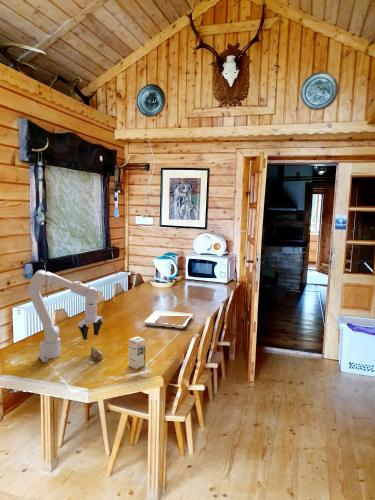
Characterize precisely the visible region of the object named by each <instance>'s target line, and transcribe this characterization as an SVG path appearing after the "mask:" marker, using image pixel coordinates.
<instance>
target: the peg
mask: <svg viewBox="0 0 375 500" xmlns="http://www.w3.org/2000/svg"><path fill="white" fill-rule="evenodd" d="M90 355H91V356H92V361H93V362H101V361H102V360H103V350H102V349H96V348H95V347H94V346H93V347H91V348H90Z"/></svg>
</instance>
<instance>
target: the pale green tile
mask: <svg viewBox="0 0 375 500" xmlns="http://www.w3.org/2000/svg"><path fill="white" fill-rule="evenodd" d="M87 363H88V364H92V365H94V364H96V361H93V360H90V361H88V362H87Z"/></svg>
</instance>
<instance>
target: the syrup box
mask: <svg viewBox="0 0 375 500" xmlns="http://www.w3.org/2000/svg"><path fill="white" fill-rule="evenodd" d="M146 340H147V339H145V338H144V337H141V336H135V337H133V338H129V339H128V366H129V367H131V368H132V369H135V370H138V369H141V368H143V367H145V366H146V345H147V344H146V342H147V341H146Z"/></svg>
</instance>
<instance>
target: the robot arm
mask: <svg viewBox="0 0 375 500" xmlns="http://www.w3.org/2000/svg"><path fill="white" fill-rule="evenodd" d="M45 284H47V285H50V284H57V285H59V286H62V287H64V288H67V289H69V290H70V292H71V293H73V294H76V295H79V296H81V297H84V298H85V303H84V307H85V308H84V319H83V320H82V321H79V322H78V324H77V325H78V326H77V327H78V329H79V331H80V333H81V336H82V340H84V341H85V340H86V341H87V340H88V334H89V333H88V332H89V329H90V327H89V326H88V325H90V324H92V325H93V335H95V336H99V333H100V329H101V327H102V325H103V323H104V322H103V316H102V315H98V313H97V312H98V301H97V300H98V290H97V289H96V287H94V286H93V285H89V284H88V285H87V284H85V283H82V281H80V280H77V281H76V280H75V281H71V280H69V279H66V278H64V277H62V276H59V275H57V274H55V273H53V272H50V271H46V270H44V269H39V270H36V272H35V273H34V274H33V276H32V277H31V278H30V281H29V286H28V289H27V294H28V295H29V297H30V300H31V303H32V304H33V306H34V308H35V311H36V313H37V316H38V318H39V321H40V322H41V324H42V328H43V332H44V340H43V341H41V342H39V345H38V346H39V347H38V348H39V350H38V351H39V353H38V354H39V356H38V357H39V359H40V360H41V361H42V363H48V362H50V359H56V358H57V357H60V356H61V338H60V337H59V334H60V331H61V328H60V327H59V326H58V325H57V324H56V322H55V320H53V318H52V316H51V314H50V312H49V310H48V307H47V304H46V303H45V300H44V298H43V295H42V293H41V289H42V287H43V286H44V285H45Z"/></svg>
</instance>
